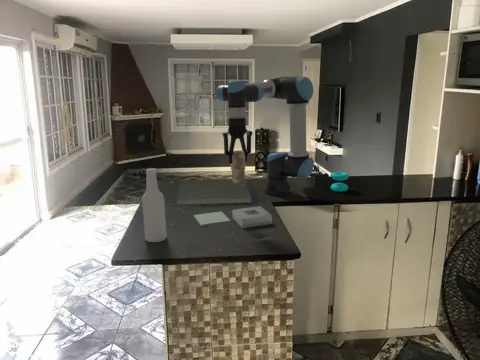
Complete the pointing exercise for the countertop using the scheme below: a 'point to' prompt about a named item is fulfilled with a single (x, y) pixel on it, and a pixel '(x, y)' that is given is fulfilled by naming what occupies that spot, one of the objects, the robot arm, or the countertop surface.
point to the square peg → (238, 167)
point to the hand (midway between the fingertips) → (238, 169)
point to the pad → (210, 218)
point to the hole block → (252, 217)
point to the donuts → (340, 176)
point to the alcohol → (153, 209)
